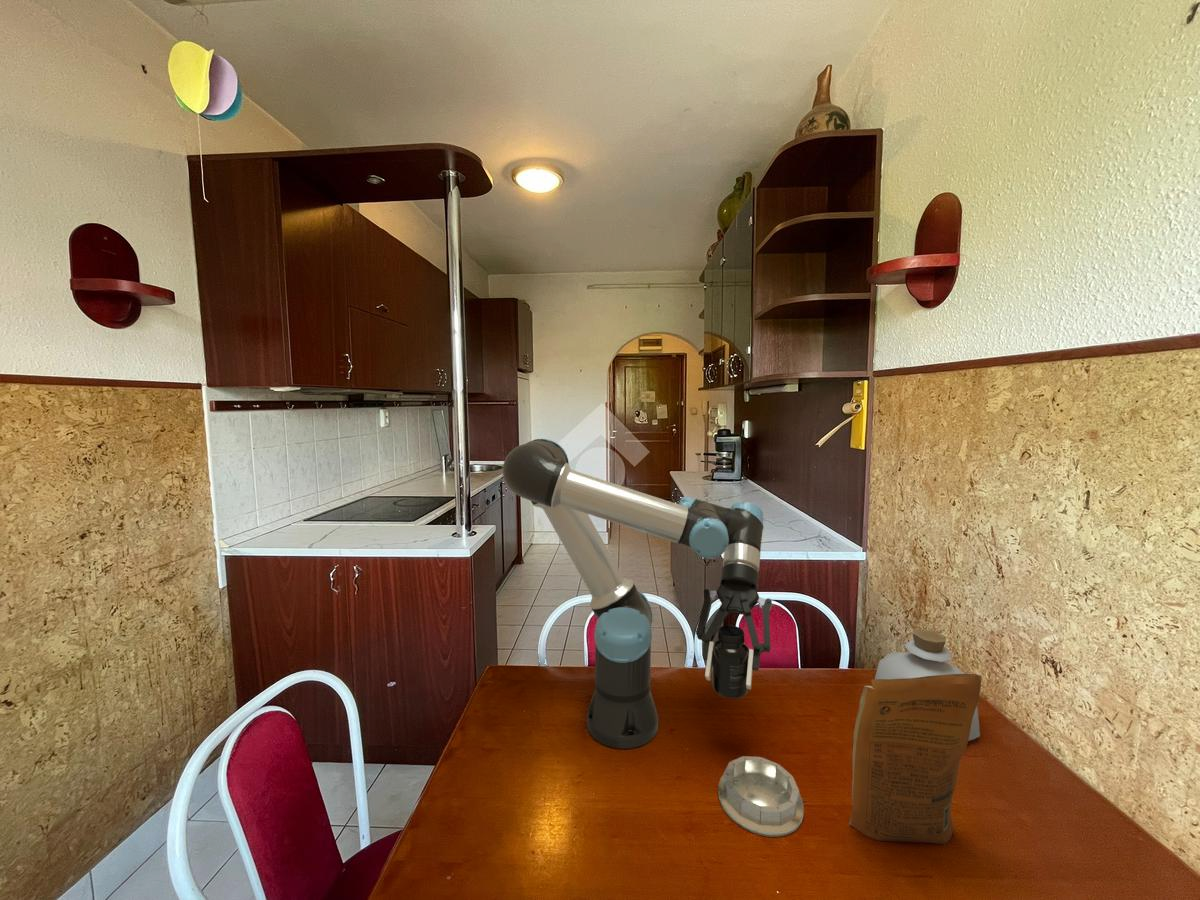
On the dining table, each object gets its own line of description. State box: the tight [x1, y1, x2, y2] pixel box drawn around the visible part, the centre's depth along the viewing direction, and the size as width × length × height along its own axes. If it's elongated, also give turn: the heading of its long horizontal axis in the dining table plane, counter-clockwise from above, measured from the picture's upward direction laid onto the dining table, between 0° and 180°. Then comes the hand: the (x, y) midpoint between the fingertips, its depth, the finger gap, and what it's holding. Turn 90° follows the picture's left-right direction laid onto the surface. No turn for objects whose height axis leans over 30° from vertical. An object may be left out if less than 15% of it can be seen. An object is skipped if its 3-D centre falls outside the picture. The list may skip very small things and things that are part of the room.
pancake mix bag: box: [848, 673, 983, 845], centre depth 77 cm, size 7×19×28 cm, turn 87°
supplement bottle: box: [711, 625, 750, 700], centre depth 95 cm, size 7×7×12 cm
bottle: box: [874, 628, 981, 742], centre depth 106 cm, size 20×20×19 cm
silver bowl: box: [717, 755, 805, 838], centre depth 85 cm, size 14×14×4 cm
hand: (727, 682), depth 92 cm, fingers closed on supplement bottle, 7 cm apart
